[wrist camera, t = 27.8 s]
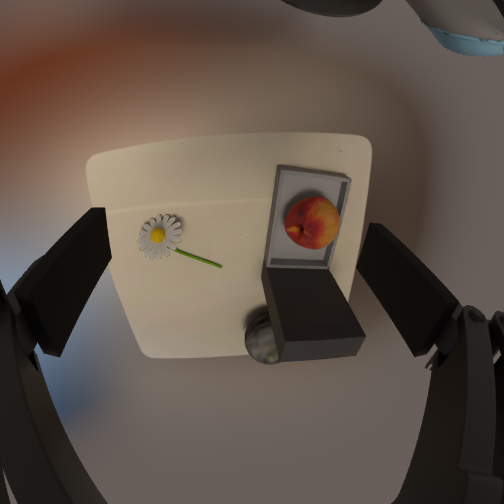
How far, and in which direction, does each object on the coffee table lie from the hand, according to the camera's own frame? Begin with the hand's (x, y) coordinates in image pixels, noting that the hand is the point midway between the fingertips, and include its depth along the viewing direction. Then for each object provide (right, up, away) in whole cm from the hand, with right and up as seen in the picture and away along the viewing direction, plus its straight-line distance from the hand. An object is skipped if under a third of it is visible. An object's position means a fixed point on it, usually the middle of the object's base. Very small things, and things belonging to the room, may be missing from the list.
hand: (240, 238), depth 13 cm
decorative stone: (+4, -15, +42) cm, 45 cm away
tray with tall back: (+9, +3, +32) cm, 34 cm away
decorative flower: (-10, +2, +31) cm, 33 cm away
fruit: (+9, +6, +30) cm, 32 cm away
